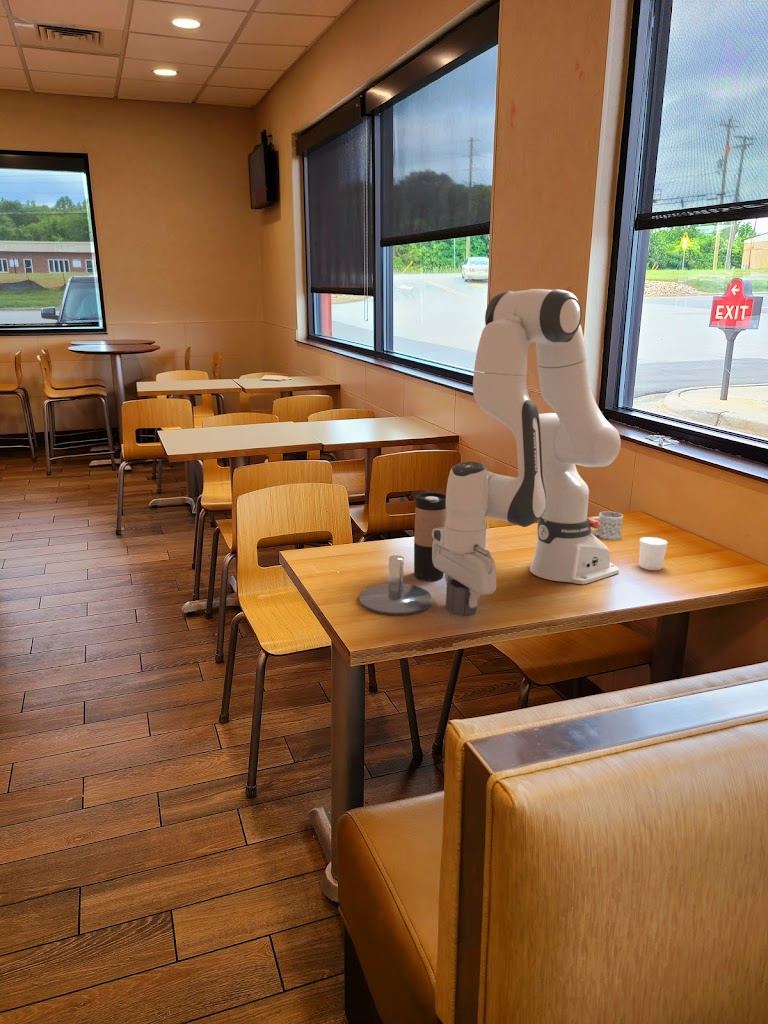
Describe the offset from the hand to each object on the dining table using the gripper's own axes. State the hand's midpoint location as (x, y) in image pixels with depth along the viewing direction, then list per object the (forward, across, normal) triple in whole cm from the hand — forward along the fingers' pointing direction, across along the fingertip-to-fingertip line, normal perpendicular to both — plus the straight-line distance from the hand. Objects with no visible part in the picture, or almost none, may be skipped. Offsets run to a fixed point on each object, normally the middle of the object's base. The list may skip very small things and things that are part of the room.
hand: (461, 599), depth 164 cm
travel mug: (+2, +21, -4) cm, 22 cm away
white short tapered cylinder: (+2, +4, -60) cm, 60 cm away
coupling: (+2, 0, 0) cm, 2 cm away
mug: (+2, +29, -67) cm, 73 cm away
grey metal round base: (+2, +10, +11) cm, 15 cm away
